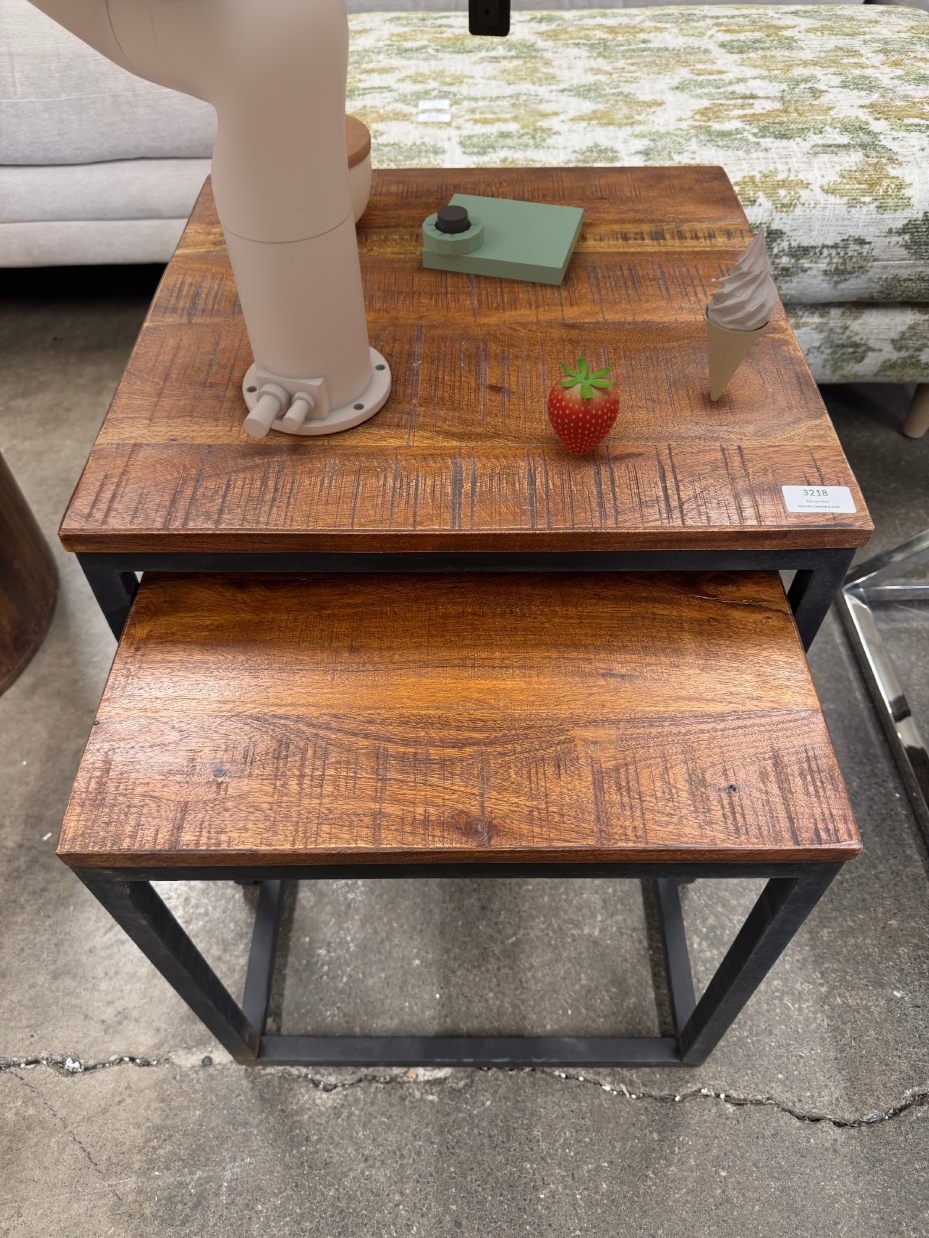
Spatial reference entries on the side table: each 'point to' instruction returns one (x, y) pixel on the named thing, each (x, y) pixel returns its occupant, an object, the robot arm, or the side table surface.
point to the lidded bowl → (358, 164)
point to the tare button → (452, 219)
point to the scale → (505, 239)
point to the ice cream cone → (739, 313)
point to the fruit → (582, 407)
